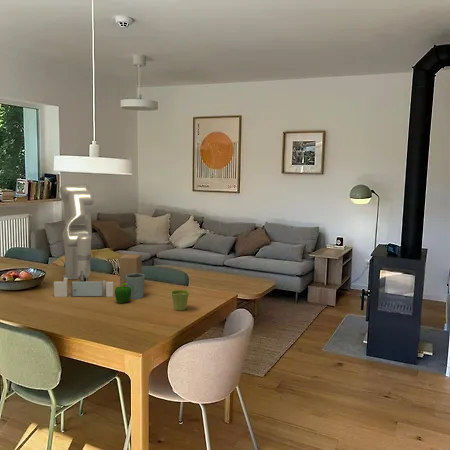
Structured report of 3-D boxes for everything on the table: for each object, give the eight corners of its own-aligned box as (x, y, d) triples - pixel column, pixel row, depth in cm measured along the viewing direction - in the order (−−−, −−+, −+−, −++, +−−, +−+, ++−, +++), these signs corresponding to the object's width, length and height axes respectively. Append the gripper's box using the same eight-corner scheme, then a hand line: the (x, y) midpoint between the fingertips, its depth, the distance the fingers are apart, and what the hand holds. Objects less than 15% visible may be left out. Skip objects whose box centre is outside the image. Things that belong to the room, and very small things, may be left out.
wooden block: (142, 287, 263) (141, 254, 260) (137, 292, 253) (136, 257, 251) (125, 287, 264) (125, 253, 261) (120, 291, 254) (119, 257, 252)
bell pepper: (111, 303, 233) (110, 284, 232) (121, 298, 240) (120, 280, 239) (124, 305, 229) (123, 286, 228) (134, 301, 237) (133, 282, 235)
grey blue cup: (126, 299, 239) (125, 277, 237) (126, 294, 249) (125, 273, 247) (145, 298, 241) (145, 277, 239) (144, 293, 251) (144, 272, 249)
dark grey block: (73, 292, 251) (72, 281, 250) (91, 292, 253) (91, 280, 252) (71, 296, 244) (71, 284, 243) (90, 295, 246) (90, 283, 245)
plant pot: (168, 307, 227) (168, 290, 226) (186, 305, 231) (186, 288, 229) (173, 312, 218) (173, 295, 217) (191, 310, 222) (191, 293, 221)
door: (102, 295, 245) (102, 281, 244) (101, 296, 242) (101, 282, 241) (73, 295, 244) (72, 281, 243) (71, 296, 242) (71, 282, 241)
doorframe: (55, 295, 245) (54, 277, 243) (113, 296, 245) (113, 278, 244) (54, 296, 243) (53, 278, 242) (113, 296, 244) (112, 279, 242)
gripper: (81, 254, 260) (82, 285, 262) (73, 260, 245) (74, 292, 247) (94, 254, 260) (95, 285, 262) (87, 260, 245) (88, 292, 248)
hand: (85, 288), depth 255 cm, fingers closed
